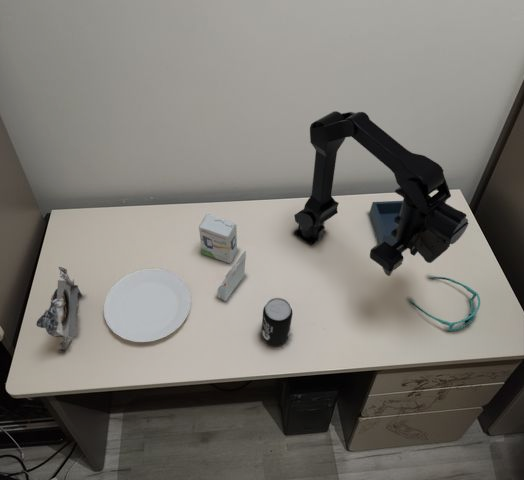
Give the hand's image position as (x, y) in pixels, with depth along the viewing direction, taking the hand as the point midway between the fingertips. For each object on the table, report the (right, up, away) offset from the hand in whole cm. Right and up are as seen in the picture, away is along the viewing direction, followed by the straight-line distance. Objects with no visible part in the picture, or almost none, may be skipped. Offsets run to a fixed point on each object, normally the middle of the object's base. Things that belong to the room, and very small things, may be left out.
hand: (400, 264), depth 113 cm
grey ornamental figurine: (-78, -15, +3) cm, 80 cm away
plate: (-60, -11, +7) cm, 62 cm away
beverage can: (-29, -17, +4) cm, 34 cm away
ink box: (-44, +2, +19) cm, 48 cm away
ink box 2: (-40, -7, +12) cm, 42 cm away
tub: (+6, +9, +26) cm, 28 cm away
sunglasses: (+14, -11, +11) cm, 21 cm away
